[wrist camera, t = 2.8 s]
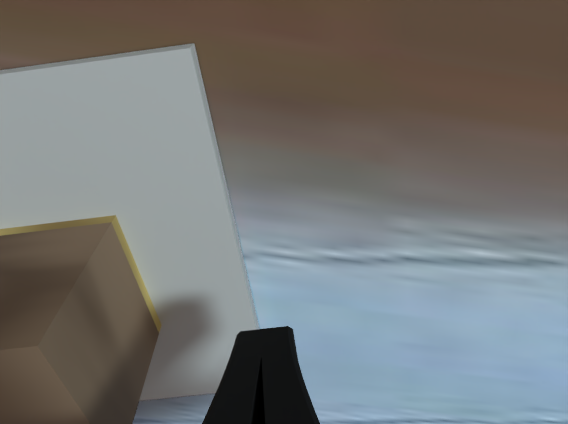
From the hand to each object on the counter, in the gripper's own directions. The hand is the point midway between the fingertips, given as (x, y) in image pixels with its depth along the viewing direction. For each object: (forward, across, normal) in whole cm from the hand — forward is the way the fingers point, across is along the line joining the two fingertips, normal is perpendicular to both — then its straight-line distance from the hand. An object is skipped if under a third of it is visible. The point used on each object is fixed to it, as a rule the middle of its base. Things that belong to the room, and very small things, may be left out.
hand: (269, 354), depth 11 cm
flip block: (+4, +7, 0) cm, 8 cm away
